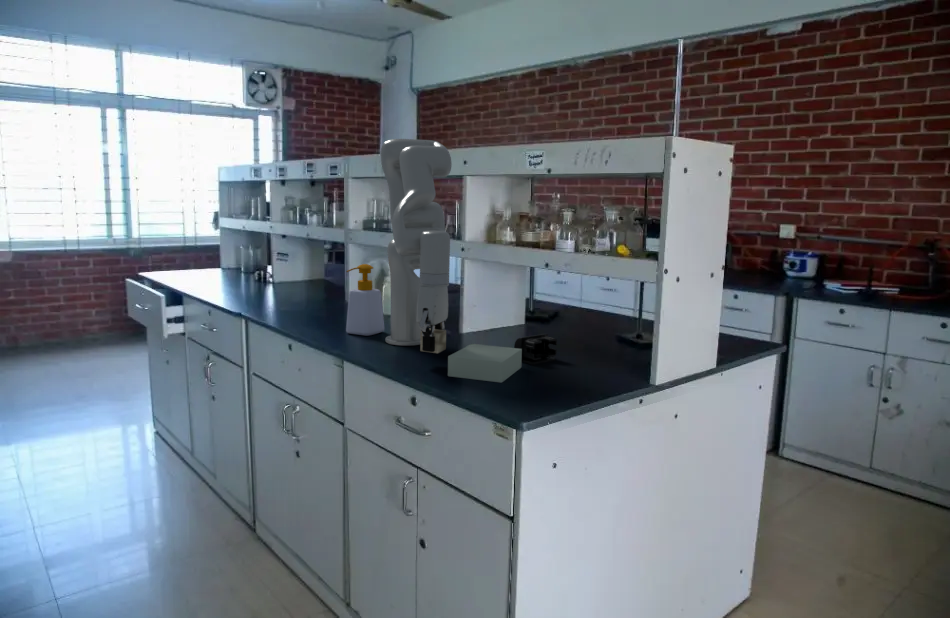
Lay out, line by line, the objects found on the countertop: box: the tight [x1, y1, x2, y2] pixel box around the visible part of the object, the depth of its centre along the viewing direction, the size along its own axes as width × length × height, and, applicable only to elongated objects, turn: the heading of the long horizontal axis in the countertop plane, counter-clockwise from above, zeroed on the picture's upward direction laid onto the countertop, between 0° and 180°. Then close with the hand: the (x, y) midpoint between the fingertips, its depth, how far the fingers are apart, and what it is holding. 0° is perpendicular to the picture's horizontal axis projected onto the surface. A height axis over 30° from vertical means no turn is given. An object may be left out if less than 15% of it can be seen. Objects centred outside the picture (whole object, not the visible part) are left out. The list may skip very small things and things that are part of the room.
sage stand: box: [447, 343, 522, 383], centre depth 170 cm, size 16×14×5 cm
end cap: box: [513, 333, 558, 366], centre depth 184 cm, size 10×7×7 cm
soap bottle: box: [345, 263, 385, 337], centre depth 212 cm, size 10×14×22 cm
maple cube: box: [419, 327, 447, 354], centre depth 174 cm, size 5×5×5 cm
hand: (433, 347), depth 174 cm, fingers closed on maple cube, 4 cm apart
